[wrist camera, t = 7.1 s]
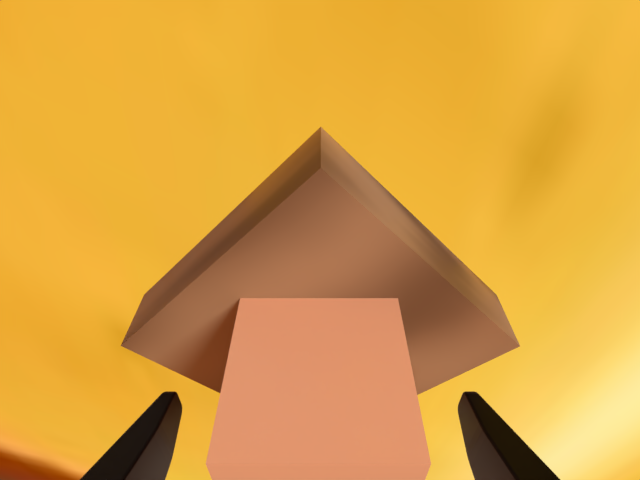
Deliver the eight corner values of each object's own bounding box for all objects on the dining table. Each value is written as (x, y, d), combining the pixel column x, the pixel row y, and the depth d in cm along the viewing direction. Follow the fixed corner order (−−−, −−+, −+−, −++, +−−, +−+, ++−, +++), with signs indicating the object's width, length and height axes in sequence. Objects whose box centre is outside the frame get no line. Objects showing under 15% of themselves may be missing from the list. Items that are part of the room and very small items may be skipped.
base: (144, 294, 16) (120, 345, 15) (320, 126, 12) (320, 167, 10) (320, 391, 21) (320, 441, 19) (496, 294, 16) (520, 346, 15)
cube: (255, 386, 16) (234, 538, 12) (240, 298, 13) (205, 464, 9) (382, 386, 16) (402, 538, 12) (397, 298, 13) (430, 463, 9)
